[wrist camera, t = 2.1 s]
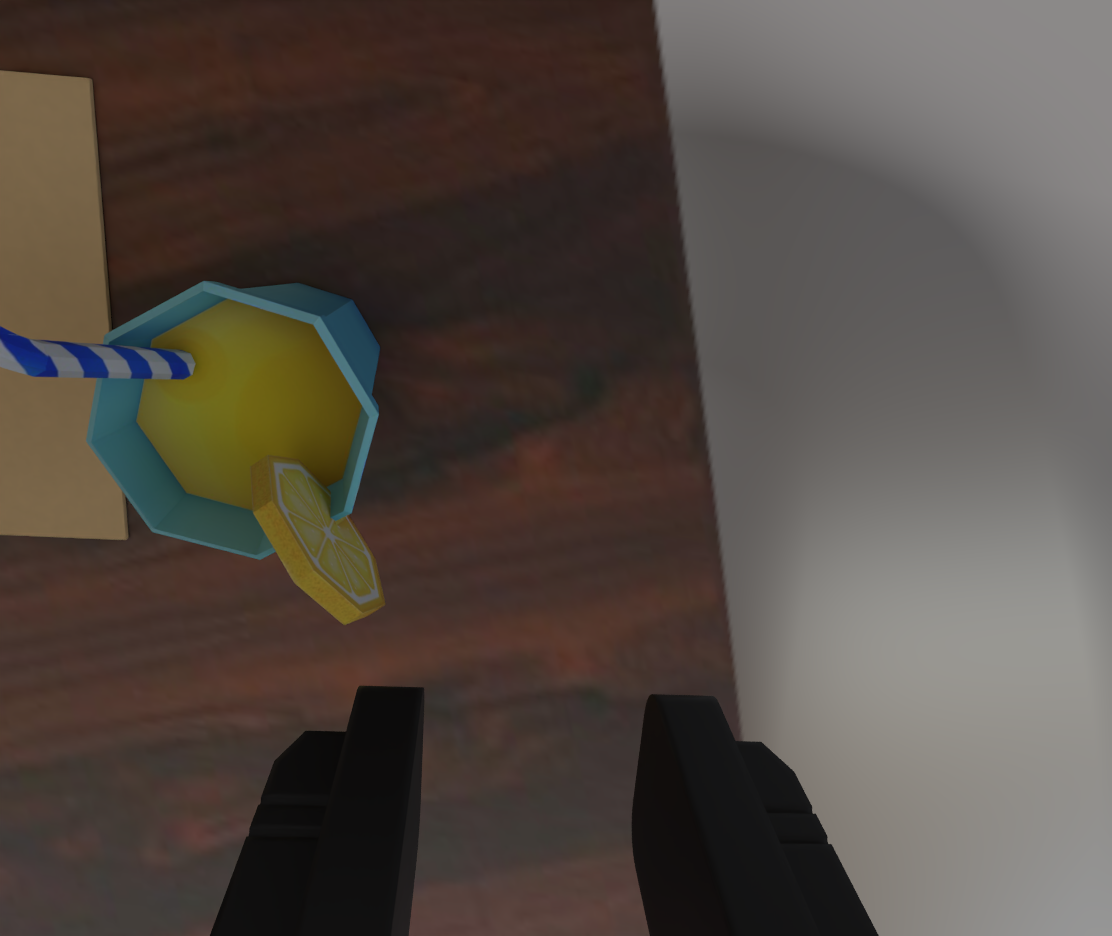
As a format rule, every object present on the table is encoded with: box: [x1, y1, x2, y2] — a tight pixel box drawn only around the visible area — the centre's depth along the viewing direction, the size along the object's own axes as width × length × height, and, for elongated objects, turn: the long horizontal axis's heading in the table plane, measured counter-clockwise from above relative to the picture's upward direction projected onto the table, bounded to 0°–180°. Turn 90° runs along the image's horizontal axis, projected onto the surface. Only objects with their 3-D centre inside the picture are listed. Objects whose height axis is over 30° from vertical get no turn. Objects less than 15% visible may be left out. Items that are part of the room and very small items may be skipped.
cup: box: [0, 281, 386, 625], centre depth 26 cm, size 14×8×15 cm, turn 49°
